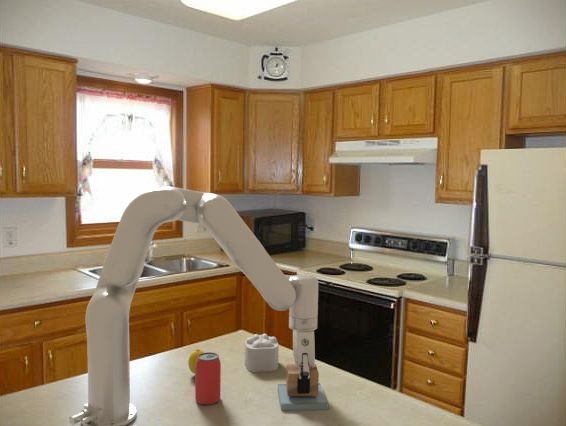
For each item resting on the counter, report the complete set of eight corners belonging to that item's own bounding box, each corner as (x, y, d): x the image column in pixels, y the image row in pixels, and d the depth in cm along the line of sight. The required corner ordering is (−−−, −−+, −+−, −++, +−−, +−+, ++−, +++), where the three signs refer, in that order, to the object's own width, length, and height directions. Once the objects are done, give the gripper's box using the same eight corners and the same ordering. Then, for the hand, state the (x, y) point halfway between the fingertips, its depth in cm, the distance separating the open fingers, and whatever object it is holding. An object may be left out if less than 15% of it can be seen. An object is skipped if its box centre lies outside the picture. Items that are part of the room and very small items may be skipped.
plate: (281, 410, 123) (281, 404, 123) (277, 389, 135) (277, 383, 135) (327, 409, 124) (327, 403, 124) (320, 388, 136) (320, 383, 136)
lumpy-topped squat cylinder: (246, 372, 146) (246, 344, 146) (242, 356, 159) (243, 330, 158) (280, 370, 148) (280, 343, 147) (273, 355, 161) (274, 329, 160)
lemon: (205, 379, 141) (205, 352, 140) (186, 378, 141) (186, 352, 140) (208, 371, 146) (208, 346, 146) (190, 371, 146) (190, 345, 146)
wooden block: (318, 395, 127) (318, 373, 126) (287, 395, 126) (288, 373, 126) (315, 384, 133) (315, 363, 133) (286, 385, 133) (286, 363, 132)
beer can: (225, 400, 128) (225, 356, 127) (205, 408, 124) (206, 362, 123) (209, 392, 133) (210, 349, 132) (190, 399, 128) (190, 355, 127)
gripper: (322, 332, 120) (320, 401, 121) (312, 312, 137) (311, 373, 138) (292, 332, 119) (291, 402, 121) (286, 312, 136) (285, 373, 138)
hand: (301, 386), depth 129 cm, fingers closed on wooden block, 6 cm apart
